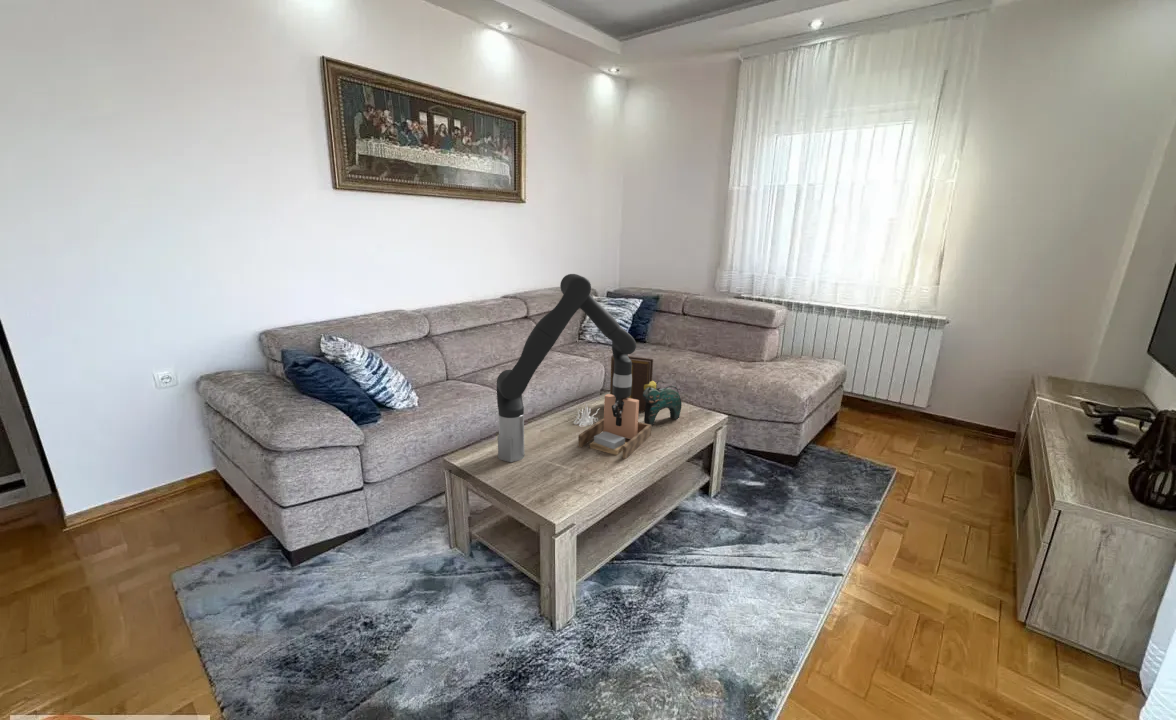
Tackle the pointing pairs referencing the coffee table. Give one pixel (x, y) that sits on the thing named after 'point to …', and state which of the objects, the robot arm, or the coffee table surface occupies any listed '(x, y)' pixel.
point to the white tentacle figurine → (585, 417)
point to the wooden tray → (629, 447)
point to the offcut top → (609, 440)
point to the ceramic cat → (661, 403)
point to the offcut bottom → (606, 448)
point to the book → (638, 378)
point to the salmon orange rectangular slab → (628, 417)
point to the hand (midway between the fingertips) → (620, 424)
